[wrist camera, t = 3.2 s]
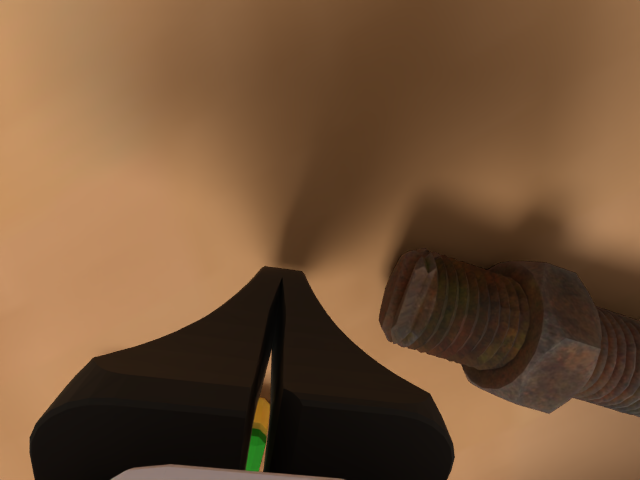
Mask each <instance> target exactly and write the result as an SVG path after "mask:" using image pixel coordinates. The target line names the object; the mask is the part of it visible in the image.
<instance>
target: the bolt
mask: <svg viewBox="0 0 640 480" xmlns="http://www.w3.org/2000/svg"><path fill="white" fill-rule="evenodd" d="M379 322H380V325H381V328H382V329H383V331H384V333H385V335H386V338H387V340H388V341H390V342H393V344H396V343H397V344H398V345H399V346H401V347H408V348H409V349H414V350H416V349H417V350H418V351H419V352H421V353H422V352H426V353H427V354H429V355H434V356H436V357H440V358H444V359H447V360H449V361H454V362H456V363H460V364H461V365H462V367H463V370H464V372H465V375H466V377H467V379H468V381H469V382H470V383H472V384H473V385H475V386H477V387H478V388H480V389H482V390H485V391H487V392H489V393H491V394H493V395H495V396H498V397H500V398H503V399H505V400H507V401H510V402H512V403H515V404H517V405H521V406H524V407H528V408H531V409H535V410H538V411H542V412H545V413H549V414H550V413H551V412H553V411H554V410H556V409H557V408H559V407H560V406H562V405H563V404H565V403H566V402H568V401H569V400H570V399H571V398H575V399H579V400H583V401H587V402H589V403H593V404H596V405H600V406H603V407H606V408H610V409H613V410H616V411H619V412H622V413H627V414H630V415H635V416H638V417H640V321H639V320H635V319H633V318H630V317H626V316H624V315H621V314H617V313H614V312H611V311H608V310H606V309H601V308H599V307H597V306H595V305H594V302H593V300H592V298H591V296H590V294H589V293H588V291H587V289H586V288H585V286H584V285H583V283H582V282H581V280H580V279H579V277H578V276H577V274H576V273H574V272H571V271H569V270H566V269H563V268H560V267H557V266H554V265H551V264H548V263H544V262H530V261H508V262H502V263H498V264H497V265H495V266H493V267H492V268H490V269H488V270H485V269H484V268H479V267H476V266H474V265H472V264H467V263H465V262H463V261H458V260H456V259H454V258H447V257H446V256H445V255H439V253H436V252H431V251H430V252H429V251H428V250H427V249H426V248H421V249H418V250H416V251H415V250H412V251H408V252H406V253H405V254H403V255H402V256H401V257H400V258H399V260H398V262H397V264H396V266H395V268H394V270H393V272H392V274H391V276H390V278H389V280H388V283H387V285H386V288H385V292H384V296H383V301H382V305H381V309H380V314H379Z"/></svg>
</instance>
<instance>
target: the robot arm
mask: <svg viewBox="0 0 640 480" xmlns="http://www.w3.org/2000/svg"><path fill="white" fill-rule="evenodd" d="M271 350H272V361H271V397H270V419H269V429H268V437H267V445H266V453H265V462H264V470H263V472H256V471H246V465H247V459H248V452H249V446H250V440H251V434H252V427H253V422H254V417H255V412H256V408H257V404H258V400H259V396H260V392H261V388H262V385H263V381H264V377H265V373H266V369H267V365H268V361H269V357H270V354H271ZM30 457H31V462H32V468H33V473H34V478H35V480H447V479H448V476H449V474H450V472H451V469H452V465H453V462H454V458H455V456H454V447H453V442H452V440H451V437H450V435H449V433H448V430H447V428H446V425H445V423H444V421H443V418H442V416H441V414H440V412H439V410H438V408H437V406H436V404H435V402H434V401H433V399H432V396H431V395H430V393H428V392H426V391H424V390H422V389H421V388H419V387H417V386H415V385H413V384H412V383H410V382H408V381H406V380H404V379H403V378H401V377H399V376H397V375H396V374H394V373H393V372H391V371H390V370H388V369H387V368H385V367H384V366H382V365H381V364H379V363H378V362H377V361H375V360H374V359H373V358H371V357H370V356H369V355H367V354H366V353H365V352H364V351H363V350H362V349H360V348H359V347H358V346H357V345H356V344H354V343H353V342H352V341H351V340H350V339H349V338H348V337H347V336H346V335H345V334H344V333H343V332H342V331H341V330H340V329H339V328H338V327H337V325H336V324H335V323H334V322H333V321H332V319H331V318H330V317H329V315H328V314H327V313H326V311H325V310H324V308H323V307H322V306H321V304H320V302H319V301H318V299H317V298H316V296H315V294H314V293H313V291H312V289H311V287H310V285H309V283H308V281H307V279H306V277H305V274H304V273H303V272H302V271H296V270H289V269H281V268H274V267H267V266H264V267H263V268H261V269H260V270H259V272H258V273H257V274H256V275H255V276H254V277H253V278H252V280H251V281H250V282H249V283H248V284H247V285H245V286H244V287H243V288H242V289H241V290H240V291H239V292H238V293H237V294H236V295H234V296H233V297H232V298H231V299H229V300H228V301H227V302H226V303H224V304H223V305H222V306H220V307H219V308H218V309H216V310H215V311H213V312H212V313H210V314H209V315H207V316H205V317H204V318H202V319H200V320H198V321H196V322H194V323H192V324H190V325H188V326H186V327H184V328H182V329H180V330H178V331H176V332H174V333H171V334H169V335H166V336H164V337H161V338H159V339H156V340H153V341H150V342H147V343H145V344H141V345H138V346H135V347H132V348H128V349H124V350H121V351H117V352H113V353H110V354H106V355H102V356H98V357H94V358H92V359H91V361H90V362H89V363H88V364H87V365H86V366H85V367H84V368H83V369H82V370H81V371H80V372H79V373H78V374H77V375H76V376H75V377H74V378H73V379H72V380H71V381H70V383H69V384H68V385H67V386H66V387H65V388H64V390H63V391H62V392H61V393H60V395H59V396H58V397H57V398H56V399H55V401H54V402H53V403H52V404H51V406H50V407H49V408H48V409H47V410H46V412H45V413H44V414H43V415H42V417H41V418H40V419H39V420H38V422H37V423H36V425H35V427H34V429H33V431H32V434H31V436H30Z"/></svg>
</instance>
